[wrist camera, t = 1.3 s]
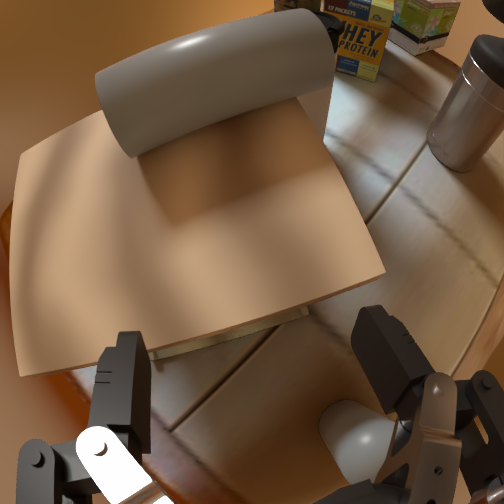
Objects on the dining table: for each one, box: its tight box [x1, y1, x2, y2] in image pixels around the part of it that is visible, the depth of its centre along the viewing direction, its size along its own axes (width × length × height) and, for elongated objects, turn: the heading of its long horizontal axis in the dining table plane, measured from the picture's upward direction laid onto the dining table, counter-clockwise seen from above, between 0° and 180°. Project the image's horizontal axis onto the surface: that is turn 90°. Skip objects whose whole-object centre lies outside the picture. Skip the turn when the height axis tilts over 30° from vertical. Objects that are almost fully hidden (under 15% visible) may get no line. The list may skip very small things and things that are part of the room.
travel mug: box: [296, 10, 345, 141], centre depth 30 cm, size 6×7×20 cm
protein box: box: [323, 0, 394, 82], centre depth 39 cm, size 10×15×16 cm
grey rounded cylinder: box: [319, 400, 395, 485], centre depth 22 cm, size 6×6×12 cm
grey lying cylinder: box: [95, 8, 335, 158], centre depth 15 cm, size 6×6×12 cm
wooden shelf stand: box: [10, 97, 386, 377], centre depth 25 cm, size 21×17×20 cm
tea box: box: [388, 0, 460, 56], centre depth 41 cm, size 15×10×15 cm, turn 126°
